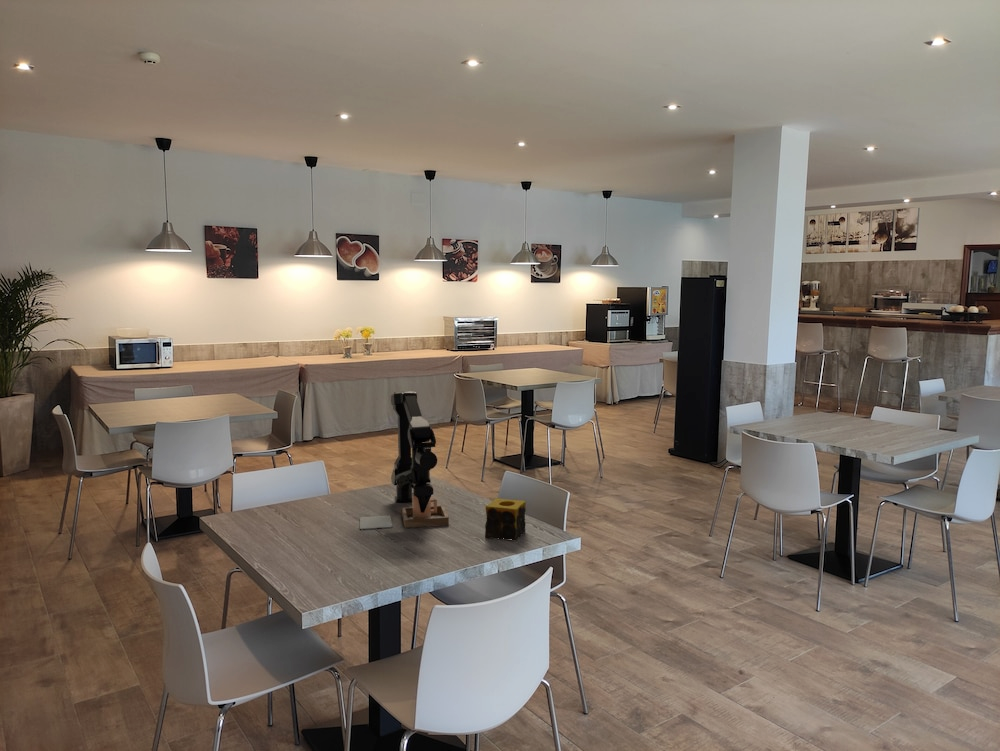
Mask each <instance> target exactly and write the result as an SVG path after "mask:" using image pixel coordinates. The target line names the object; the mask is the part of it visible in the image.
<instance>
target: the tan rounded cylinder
mask: <svg viewBox="0 0 1000 751" xmlns="http://www.w3.org/2000/svg"><path fill="white" fill-rule="evenodd" d="M411 502H412V503H411V504H412V506H411V507H412V511H413V515H412V519H417V518H432V514H431V513H437V506H438V499H437V498H432V496H431V497H430V500H429V502H428V504H427V507H426V509H425V512H424V513H421V511H420V506H419V501H418V498H417V497H416V496H414V494H413V492H412V501H411ZM432 503H433V506H434V509H433V510H431V506H432Z"/></svg>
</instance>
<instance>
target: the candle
mask: <svg viewBox="0 0 1000 751" xmlns="http://www.w3.org/2000/svg"><path fill="white" fill-rule="evenodd" d="M526 506H527V505H526V500H520V499H519V500H518V499H506V498H494V499H493V500H492V501H491V502H490V503H488V504H487V505H486V506H485V515H486V522H485V524H484V527H485V531H484V537H485V538H486V539H487V538H488V539H493V538H499V539H498V540H502V539H503V538H504V539H512V540H516V541H517V540H518V539H519V538H521V537H522V535H523V534H524V533H525V532H526V524H527V523H526V510H527V509H526ZM521 534H522V535H521ZM518 537H519V538H518ZM517 538H518V539H517Z"/></svg>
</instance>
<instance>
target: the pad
mask: <svg viewBox="0 0 1000 751" xmlns="http://www.w3.org/2000/svg"><path fill="white" fill-rule="evenodd" d="M377 528H382V529H392V528H393V524H392V518H391V515H374V516H364V517H363V516H362V517H359V530H360V529H361V530H360V531H363V529H367V530H378V529H377Z"/></svg>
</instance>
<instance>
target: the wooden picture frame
mask: <svg viewBox="0 0 1000 751" xmlns="http://www.w3.org/2000/svg"><path fill="white" fill-rule="evenodd" d="M433 509H434V505H431V510H433ZM438 513H439V514H441V516H435V517H433V516H432V517H431V518H417V519H413V518H408V516H413V511H412V506H409V507H408V506H407V507H401V515H402V516H401V517H402V521H403V526H404V528H405V529H407V528H406V527H411V528H419V527H420V528H421V527H422V528H423V526H426V527H437V526H440V525H441V526H449V525H450V524H449V523H450V520H449V515H448V512H447V511H446V508H445V506H444V505H443V504H440V505H438V504H437V513H431V515H435V514H436V515H437V514H438ZM439 514H438V515H439Z"/></svg>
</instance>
